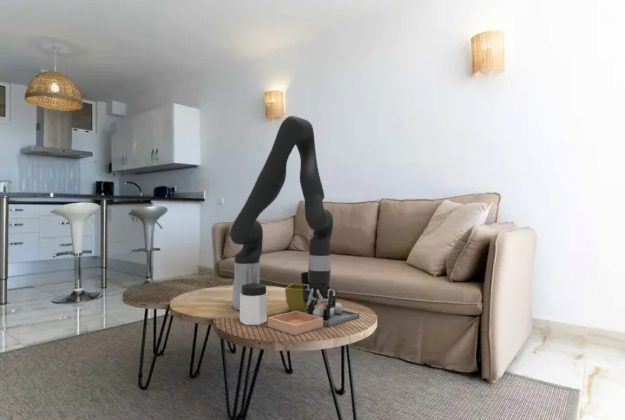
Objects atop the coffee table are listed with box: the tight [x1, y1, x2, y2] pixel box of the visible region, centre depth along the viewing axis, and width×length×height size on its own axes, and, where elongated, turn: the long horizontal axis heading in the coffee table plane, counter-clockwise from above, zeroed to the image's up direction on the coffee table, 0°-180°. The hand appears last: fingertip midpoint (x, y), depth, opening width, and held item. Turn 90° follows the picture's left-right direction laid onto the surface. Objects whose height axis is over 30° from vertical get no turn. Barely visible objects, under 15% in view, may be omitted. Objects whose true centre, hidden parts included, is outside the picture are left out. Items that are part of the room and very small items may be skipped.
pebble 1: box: [322, 306, 334, 316], centre depth 137 cm, size 4×4×4 cm
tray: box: [303, 307, 360, 328], centre depth 137 cm, size 14×16×2 cm
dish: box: [267, 311, 324, 337], centre depth 126 cm, size 12×12×3 cm
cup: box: [300, 271, 319, 306], centre depth 158 cm, size 8×8×12 cm
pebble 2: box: [334, 302, 344, 314], centre depth 140 cm, size 4×4×4 cm
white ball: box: [313, 306, 323, 318], centre depth 133 cm, size 4×4×4 cm
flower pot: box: [284, 283, 308, 312], centre depth 146 cm, size 9×9×9 cm
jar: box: [239, 283, 268, 326], centre depth 131 cm, size 9×8×12 cm
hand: (318, 317), depth 133 cm, fingers open, 6 cm apart
